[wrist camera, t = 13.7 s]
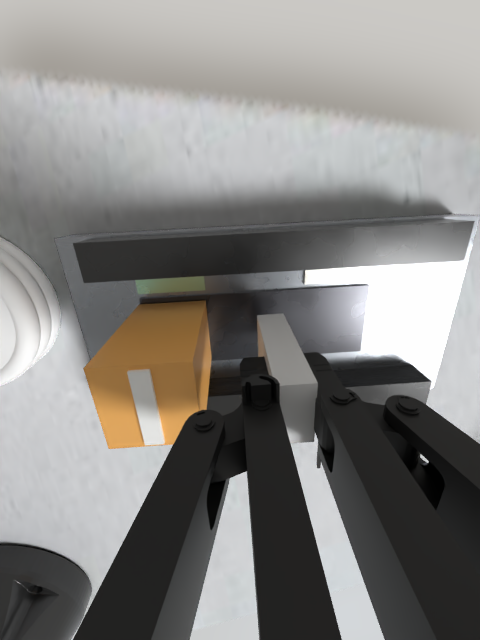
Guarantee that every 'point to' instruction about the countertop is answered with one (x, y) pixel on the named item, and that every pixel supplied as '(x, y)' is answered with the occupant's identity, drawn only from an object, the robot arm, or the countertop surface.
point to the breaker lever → (152, 374)
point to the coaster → (24, 312)
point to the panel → (289, 292)
